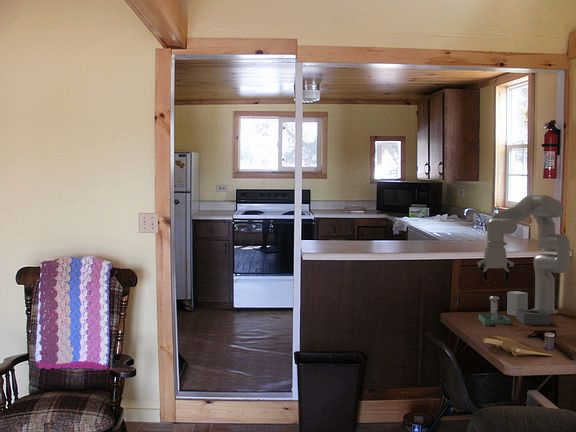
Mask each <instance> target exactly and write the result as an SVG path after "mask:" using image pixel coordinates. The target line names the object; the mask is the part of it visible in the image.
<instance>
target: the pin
mask: <svg viewBox="0 0 576 432" xmlns="http://www.w3.org/2000/svg"><path fill="white" fill-rule="evenodd" d="M488 300H490V315H491V319H492V320H498V319H497V315H498V301H499V300H500V297H499V296H496V295H495V296H494V295H493V296H492V295H490V296H489V299H488Z"/></svg>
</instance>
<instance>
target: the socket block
mask: <svg viewBox="0 0 576 432" xmlns="http://www.w3.org/2000/svg"><path fill="white" fill-rule="evenodd" d="M551 315H552V314H548V313H547V312H545V311H543V310H532V309H517V311H516V316H515V318H516V321H518V322H520V323H521V324H522V325H525V326H551V317H552V316H551Z"/></svg>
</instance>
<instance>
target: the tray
mask: <svg viewBox="0 0 576 432" xmlns="http://www.w3.org/2000/svg"><path fill="white" fill-rule="evenodd" d="M479 320H480V321H481V322H482V323H481V322H480V321H479ZM478 321H479V322H480V323H481V324H483V325H484V326H489V325H500V324H501V325H511V324H512V320H511V319H510V318H509V317H507V316H506V315H505V314H497V320H492V319H491V314H478Z"/></svg>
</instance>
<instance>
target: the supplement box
mask: <svg viewBox="0 0 576 432" xmlns="http://www.w3.org/2000/svg"><path fill="white" fill-rule="evenodd" d="M506 296H507V297H506V306H507V307H506V314H507V315H508V316H514V317H516V311H517V309H528V308H529V300H528V298H529V294H528V292H525V291H523V292H522V291H516V290H515V291H514V290H513V291H507V292H506ZM528 310H529V309H528Z"/></svg>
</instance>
